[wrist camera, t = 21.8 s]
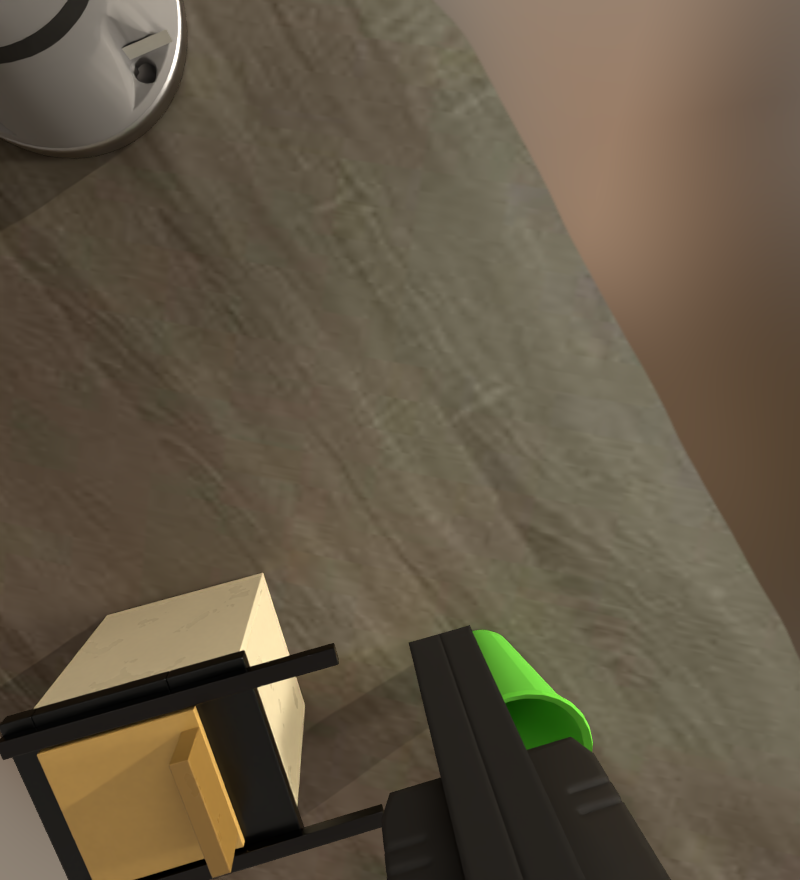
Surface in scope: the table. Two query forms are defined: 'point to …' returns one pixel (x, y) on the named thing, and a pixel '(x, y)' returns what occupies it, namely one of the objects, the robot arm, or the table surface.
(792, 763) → the table surface
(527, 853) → the robot arm
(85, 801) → the shutter
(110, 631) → the sliding lid box
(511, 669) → the cup
